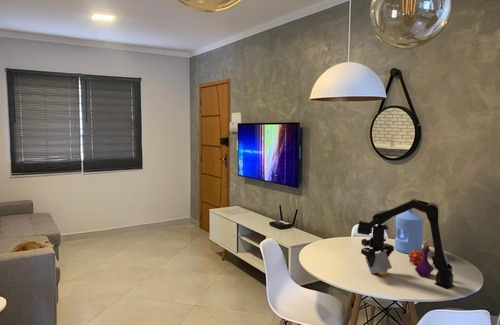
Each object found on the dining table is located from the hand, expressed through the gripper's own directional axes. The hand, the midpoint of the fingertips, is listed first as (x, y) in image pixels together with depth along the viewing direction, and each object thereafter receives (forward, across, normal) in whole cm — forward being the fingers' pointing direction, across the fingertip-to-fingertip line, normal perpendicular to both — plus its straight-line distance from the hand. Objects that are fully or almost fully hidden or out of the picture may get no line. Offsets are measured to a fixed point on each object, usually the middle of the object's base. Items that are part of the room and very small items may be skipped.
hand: (376, 265), depth 197 cm
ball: (+1, 0, +3) cm, 4 cm away
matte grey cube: (+2, 0, +3) cm, 3 cm away
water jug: (+4, -45, -15) cm, 48 cm away
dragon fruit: (+4, -29, +3) cm, 30 cm away
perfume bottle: (+4, -19, +14) cm, 24 cm away
